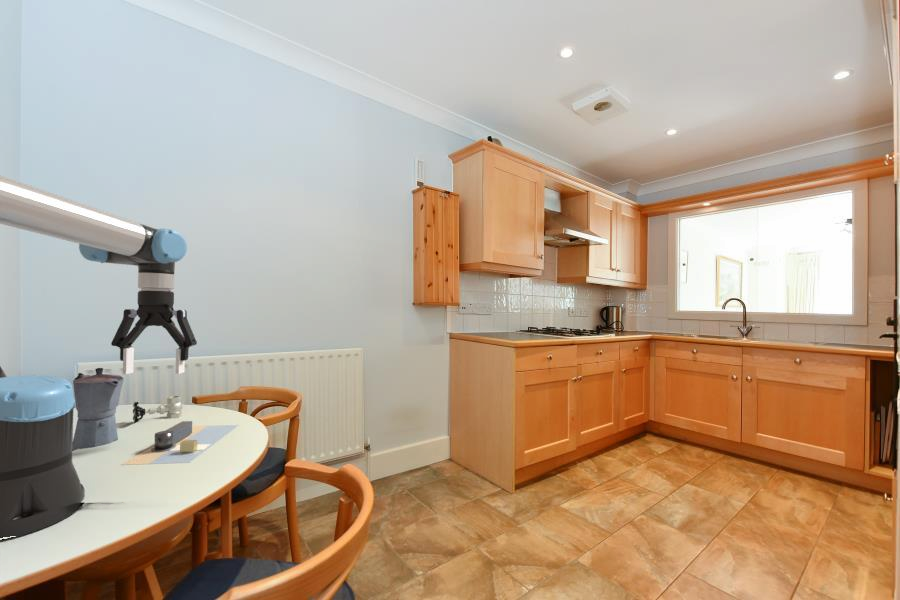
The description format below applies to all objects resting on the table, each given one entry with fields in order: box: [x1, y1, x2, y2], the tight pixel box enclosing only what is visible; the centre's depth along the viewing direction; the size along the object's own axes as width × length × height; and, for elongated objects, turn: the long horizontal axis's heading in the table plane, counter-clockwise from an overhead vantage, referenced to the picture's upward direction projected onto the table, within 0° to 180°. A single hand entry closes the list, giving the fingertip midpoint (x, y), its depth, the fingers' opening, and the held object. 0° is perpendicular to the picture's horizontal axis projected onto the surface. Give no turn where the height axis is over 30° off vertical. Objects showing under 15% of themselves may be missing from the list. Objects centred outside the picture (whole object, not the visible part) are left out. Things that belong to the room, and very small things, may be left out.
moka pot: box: [72, 367, 124, 452], centre depth 96 cm, size 10×15×20 cm, turn 78°
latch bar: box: [153, 420, 193, 450], centre depth 96 cm, size 12×4×4 cm, turn 7°
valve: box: [132, 395, 183, 424], centre depth 118 cm, size 7×7×12 cm
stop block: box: [180, 440, 197, 453], centre depth 91 cm, size 2×3×2 cm, turn 97°
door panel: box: [120, 424, 240, 466], centre depth 97 cm, size 26×14×1 cm, turn 7°
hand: (154, 373), depth 99 cm, fingers open, 12 cm apart
